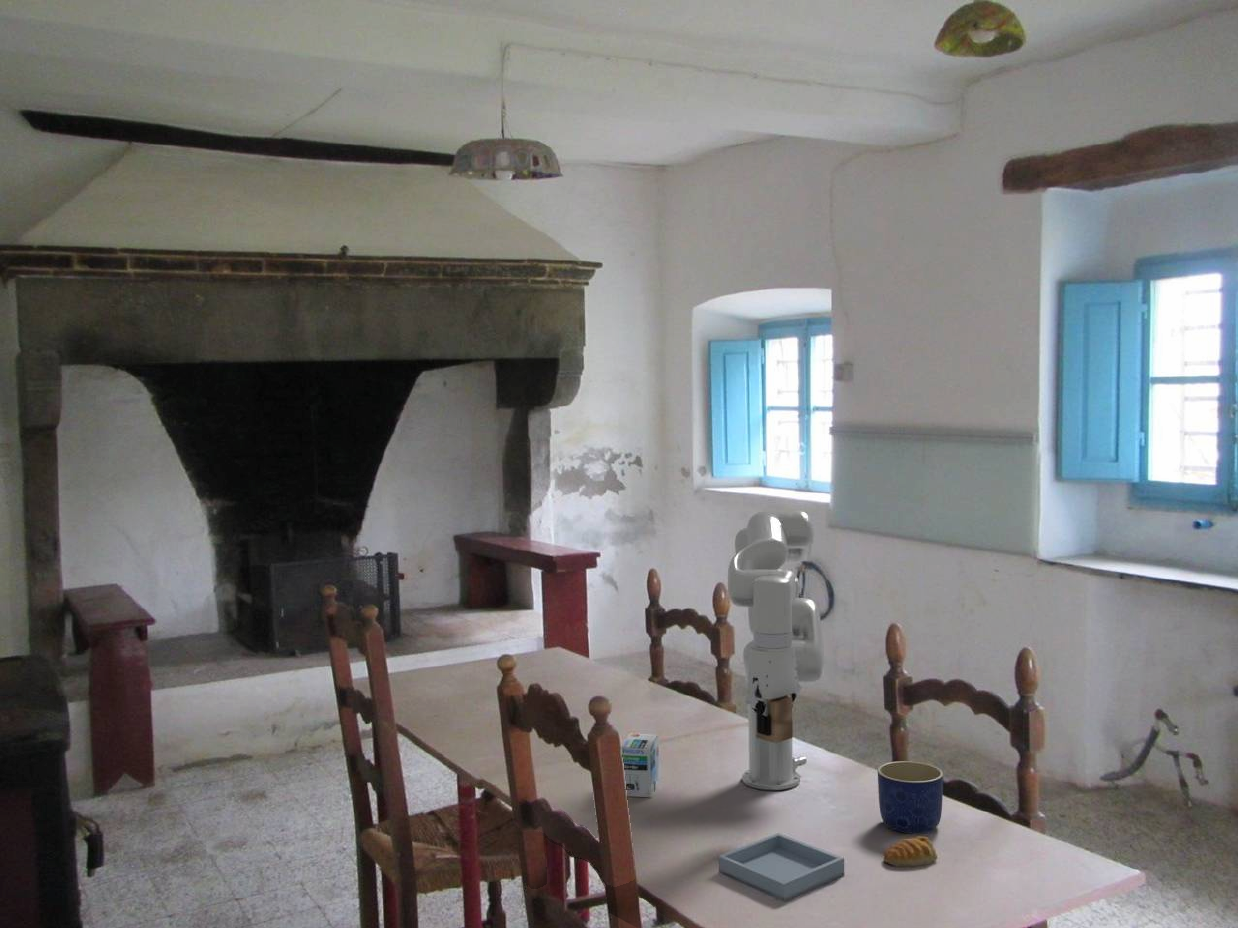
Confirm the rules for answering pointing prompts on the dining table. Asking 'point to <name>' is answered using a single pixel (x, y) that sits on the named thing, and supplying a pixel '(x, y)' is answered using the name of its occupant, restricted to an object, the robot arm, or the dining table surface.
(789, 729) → the walnut block
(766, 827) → the dining table surface
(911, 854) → the pastry
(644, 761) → the light bulb box
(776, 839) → the tray
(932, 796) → the planter
